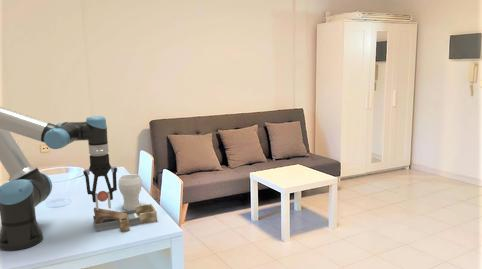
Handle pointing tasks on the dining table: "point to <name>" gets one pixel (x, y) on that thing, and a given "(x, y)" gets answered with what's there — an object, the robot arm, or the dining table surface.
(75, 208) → the dining table surface
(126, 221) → the hollow wooden block
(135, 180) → the cup
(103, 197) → the ball
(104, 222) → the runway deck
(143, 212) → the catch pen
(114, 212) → the ramp
